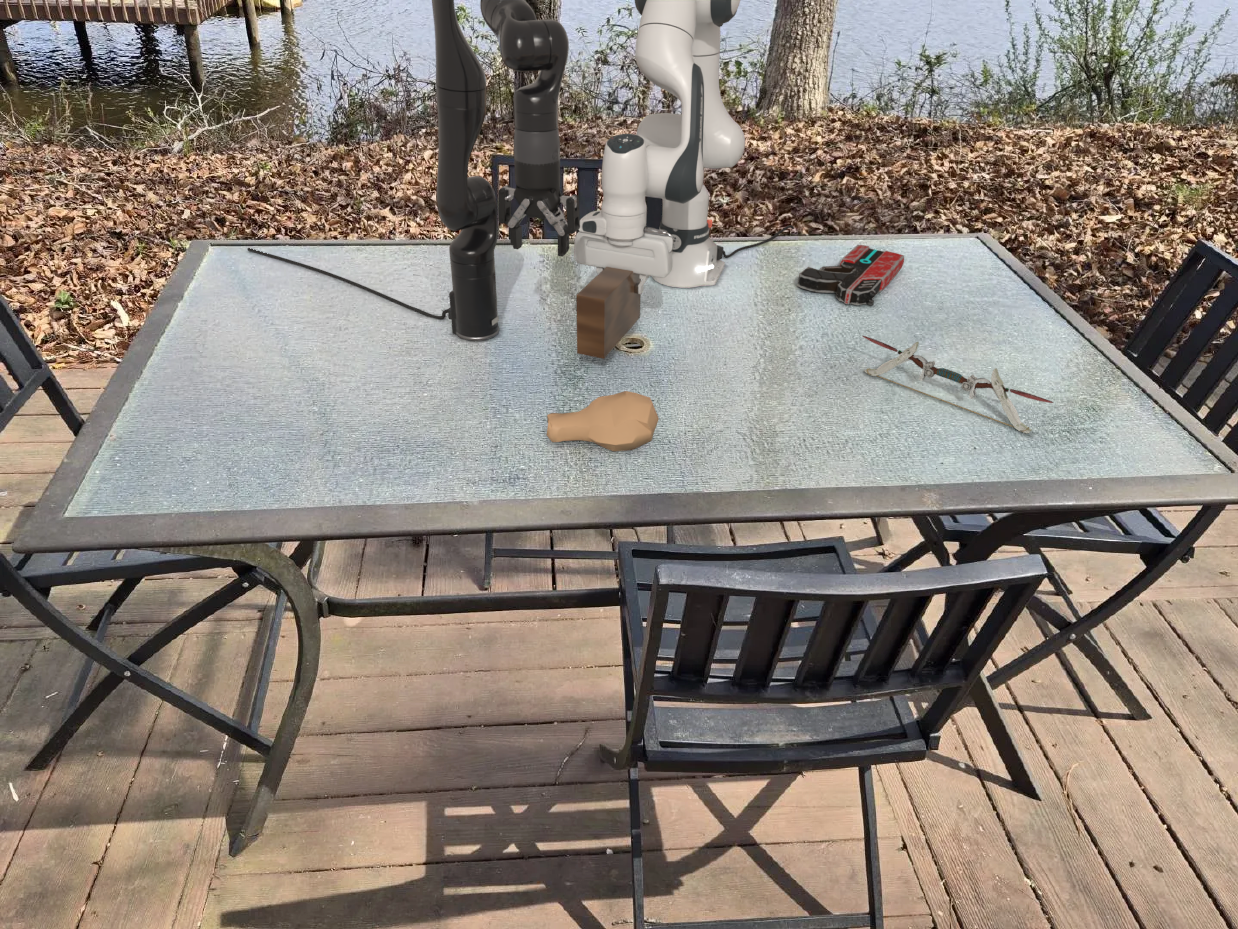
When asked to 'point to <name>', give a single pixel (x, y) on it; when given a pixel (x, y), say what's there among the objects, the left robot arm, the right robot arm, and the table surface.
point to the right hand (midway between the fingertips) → (622, 289)
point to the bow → (967, 384)
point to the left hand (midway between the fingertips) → (539, 251)
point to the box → (606, 311)
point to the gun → (854, 275)
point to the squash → (608, 422)
